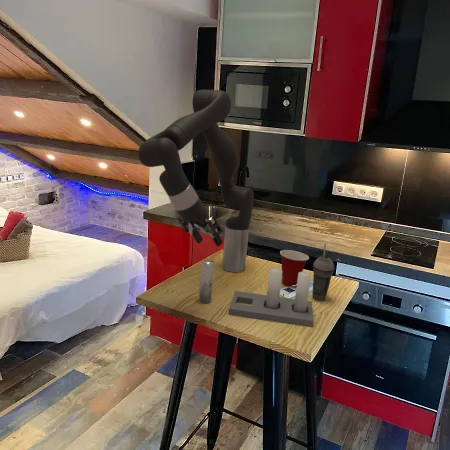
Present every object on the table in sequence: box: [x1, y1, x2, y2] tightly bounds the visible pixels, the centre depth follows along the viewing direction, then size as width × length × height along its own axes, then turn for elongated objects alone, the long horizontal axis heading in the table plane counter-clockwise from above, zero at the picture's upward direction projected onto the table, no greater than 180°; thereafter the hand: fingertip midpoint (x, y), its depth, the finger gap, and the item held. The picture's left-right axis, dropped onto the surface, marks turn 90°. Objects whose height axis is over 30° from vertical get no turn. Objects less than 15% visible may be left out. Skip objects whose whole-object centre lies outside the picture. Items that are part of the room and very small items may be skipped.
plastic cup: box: [279, 249, 310, 287], centre depth 161 cm, size 11×11×12 cm
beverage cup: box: [312, 243, 335, 302], centre depth 149 cm, size 7×7×20 cm
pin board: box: [228, 267, 314, 328], centre depth 138 cm, size 14×26×14 cm, turn 81°
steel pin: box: [198, 258, 215, 305], centre depth 141 cm, size 4×4×14 cm
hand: (209, 243), depth 131 cm, fingers open, 8 cm apart
